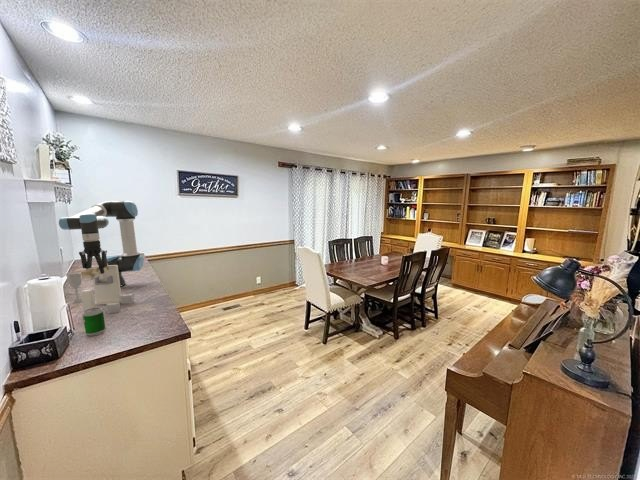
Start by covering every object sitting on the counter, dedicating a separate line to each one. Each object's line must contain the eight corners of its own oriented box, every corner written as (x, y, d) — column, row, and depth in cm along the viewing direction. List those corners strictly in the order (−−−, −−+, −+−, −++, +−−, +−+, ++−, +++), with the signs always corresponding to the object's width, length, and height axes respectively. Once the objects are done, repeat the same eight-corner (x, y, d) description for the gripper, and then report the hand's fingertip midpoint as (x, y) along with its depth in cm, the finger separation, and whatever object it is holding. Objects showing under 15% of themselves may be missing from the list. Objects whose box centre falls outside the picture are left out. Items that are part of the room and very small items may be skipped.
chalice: (67, 304, 167) (63, 276, 165) (74, 300, 174) (70, 273, 171) (81, 302, 169) (77, 275, 167) (87, 299, 176) (83, 272, 173)
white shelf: (97, 302, 170) (92, 266, 166) (122, 300, 172) (117, 264, 169) (74, 315, 150) (68, 274, 146) (102, 313, 152) (96, 273, 149)
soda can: (109, 329, 134) (106, 306, 132) (97, 336, 126) (94, 312, 124) (94, 329, 133) (91, 306, 132) (81, 337, 126) (77, 313, 124)
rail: (101, 270, 165) (100, 263, 165) (108, 269, 166) (107, 263, 165) (82, 278, 148) (80, 271, 147) (90, 277, 149) (89, 270, 148)
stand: (123, 302, 170) (122, 294, 169) (133, 301, 171) (132, 294, 170) (106, 313, 153) (105, 305, 152) (118, 312, 154) (117, 304, 153)
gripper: (69, 242, 149) (75, 282, 152) (104, 240, 152) (109, 280, 155) (78, 240, 156) (84, 278, 159) (111, 239, 159) (116, 276, 163)
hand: (96, 279), depth 157 cm, fingers closed on rail, 4 cm apart
